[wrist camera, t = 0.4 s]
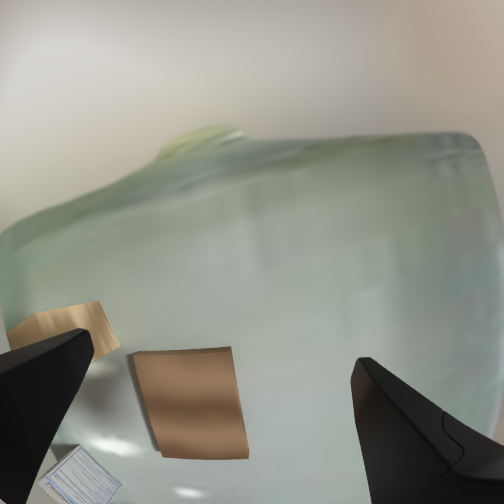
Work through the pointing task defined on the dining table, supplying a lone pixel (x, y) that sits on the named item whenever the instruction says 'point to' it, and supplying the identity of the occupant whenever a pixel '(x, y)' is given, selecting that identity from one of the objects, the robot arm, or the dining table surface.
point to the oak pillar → (66, 327)
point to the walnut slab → (193, 403)
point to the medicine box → (79, 480)
